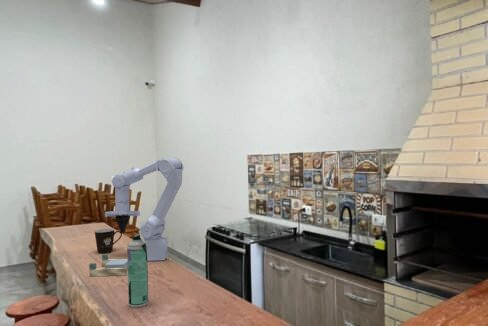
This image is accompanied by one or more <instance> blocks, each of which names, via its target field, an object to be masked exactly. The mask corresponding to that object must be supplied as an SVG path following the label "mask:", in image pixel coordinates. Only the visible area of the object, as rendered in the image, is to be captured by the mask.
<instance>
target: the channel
mask: <svg viewBox="0 0 488 326" xmlns="http://www.w3.org/2000/svg"><path fill="white" fill-rule="evenodd" d="M101 257H102V258H101V262H102V264H101V265H102V267H104V268H97V262H95V263H94V262H92V263H89V265H88V269H89V277H91V278H92V277H115V276H117V277H119V276H120V277H121V276H128V270H127V268H105V264H107V263H108V262H110V261H111V260H114V259H115V258H109V253H106V254H101Z"/></svg>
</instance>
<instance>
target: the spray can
mask: <svg viewBox="0 0 488 326" xmlns="http://www.w3.org/2000/svg"><path fill="white" fill-rule="evenodd" d="M140 235H141V234H133V238H132V239H131V241H130V242H129V243H127V247H126V248H127V252H126V255H127V259H128V270H127V279H128V280H127V282H128V288H127V289H128V306H129V307H131V308H135V309H136V308H142V307H145V306H148V305H149V271H148V269H149V268H148V266H149V265H148V261H147V245H146V244H147V243H146V242H145V241H144V239H143V238H141V236H140Z"/></svg>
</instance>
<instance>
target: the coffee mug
mask: <svg viewBox="0 0 488 326" xmlns="http://www.w3.org/2000/svg"><path fill="white" fill-rule="evenodd" d="M117 233H119V234H120V236H119V237H118V238H117V240H114V239H115V238H114V237H115V235H116V234H117ZM122 236H123V233H121V232H120V230H116V231H115V229H114V228H101V229H96V230H94V238H95V244H96V250H97V254H100V255H103V254H110V253H112V252H113V250H114V245H115V244H116V243H117V242H119V240H120V239H121V238H122Z"/></svg>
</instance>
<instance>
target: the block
mask: <svg viewBox="0 0 488 326" xmlns="http://www.w3.org/2000/svg"><path fill="white" fill-rule="evenodd" d="M113 259H114V260H111V261H110V262H108V263H107V264H105V266H104V268H127V271H128V258H113Z"/></svg>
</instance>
